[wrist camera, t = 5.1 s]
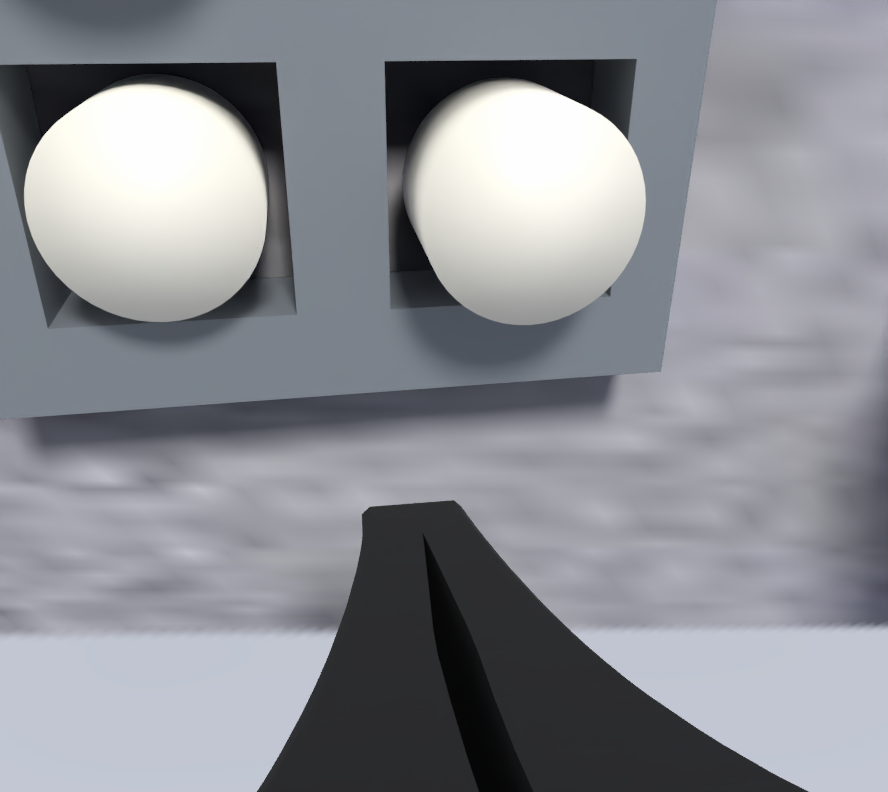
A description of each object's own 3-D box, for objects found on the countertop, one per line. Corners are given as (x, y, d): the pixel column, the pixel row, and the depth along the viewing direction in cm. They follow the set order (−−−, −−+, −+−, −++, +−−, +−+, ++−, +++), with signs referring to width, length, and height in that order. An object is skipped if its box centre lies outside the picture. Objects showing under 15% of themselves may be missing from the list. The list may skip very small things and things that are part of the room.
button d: (259, 72, 17) (254, 93, 14) (276, 266, 19) (276, 315, 16) (43, 75, 16) (-3, 96, 14) (85, 275, 18) (52, 328, 16)
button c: (601, 76, 17) (660, 96, 14) (583, 269, 19) (632, 318, 16) (400, 78, 16) (423, 100, 14) (403, 278, 18) (424, 331, 16)
